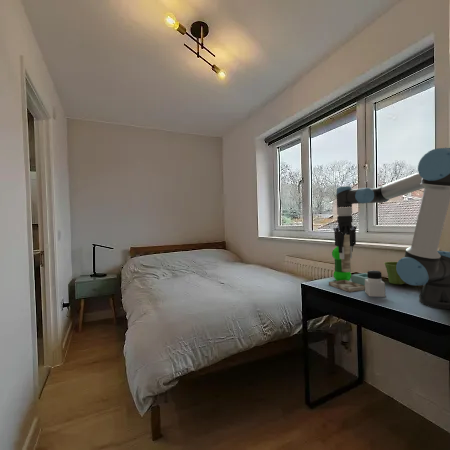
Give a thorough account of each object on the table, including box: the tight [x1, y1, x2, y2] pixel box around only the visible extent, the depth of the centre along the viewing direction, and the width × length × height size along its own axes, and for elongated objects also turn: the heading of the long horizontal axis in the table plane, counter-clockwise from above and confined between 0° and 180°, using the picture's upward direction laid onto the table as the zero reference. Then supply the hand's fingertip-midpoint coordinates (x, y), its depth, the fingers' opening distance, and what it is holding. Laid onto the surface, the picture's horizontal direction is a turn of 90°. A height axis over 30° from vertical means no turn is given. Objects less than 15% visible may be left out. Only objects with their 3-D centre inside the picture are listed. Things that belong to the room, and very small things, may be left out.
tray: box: [328, 280, 365, 293], centre depth 148 cm, size 16×11×2 cm
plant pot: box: [383, 261, 406, 285], centre depth 152 cm, size 12×12×11 cm
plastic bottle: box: [331, 244, 352, 281], centre depth 161 cm, size 10×10×25 cm
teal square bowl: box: [351, 272, 368, 285], centre depth 150 cm, size 10×10×6 cm
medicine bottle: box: [364, 269, 386, 298], centre depth 134 cm, size 7×7×12 cm
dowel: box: [341, 234, 352, 273], centre depth 148 cm, size 4×4×20 cm
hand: (345, 258), depth 148 cm, fingers closed on dowel, 4 cm apart
